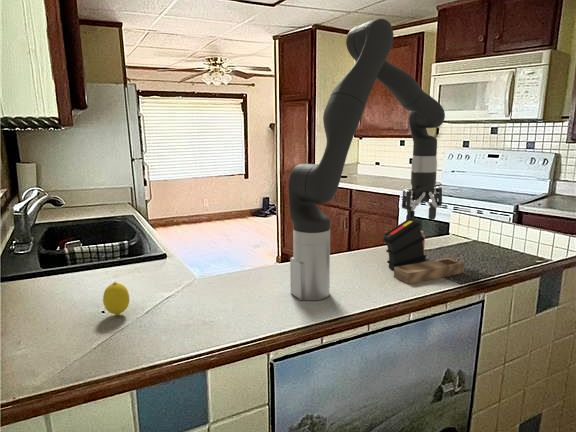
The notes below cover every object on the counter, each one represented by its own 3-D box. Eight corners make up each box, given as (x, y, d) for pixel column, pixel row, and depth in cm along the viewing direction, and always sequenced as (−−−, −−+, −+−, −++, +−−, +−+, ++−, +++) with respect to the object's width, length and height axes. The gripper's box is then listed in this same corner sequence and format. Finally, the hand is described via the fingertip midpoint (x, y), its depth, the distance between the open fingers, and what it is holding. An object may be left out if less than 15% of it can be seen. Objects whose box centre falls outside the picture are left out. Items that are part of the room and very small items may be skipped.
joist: (407, 283, 115) (408, 273, 115) (393, 277, 121) (394, 267, 120) (463, 272, 124) (464, 263, 123) (448, 267, 129) (448, 257, 128)
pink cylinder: (418, 259, 136) (420, 232, 134) (413, 257, 139) (414, 231, 137) (425, 258, 137) (427, 231, 136) (419, 256, 140) (420, 229, 138)
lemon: (103, 322, 94) (99, 288, 92) (106, 312, 99) (103, 279, 98) (129, 318, 95) (126, 285, 94) (131, 309, 101) (128, 277, 99)
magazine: (433, 260, 130) (418, 219, 125) (400, 283, 127) (383, 241, 122) (425, 257, 134) (410, 216, 129) (392, 279, 131) (376, 238, 126)
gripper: (432, 168, 139) (430, 216, 142) (397, 170, 133) (395, 220, 136) (450, 169, 132) (446, 220, 135) (414, 172, 126) (411, 225, 130)
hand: (421, 220), depth 136 cm, fingers open, 8 cm apart
